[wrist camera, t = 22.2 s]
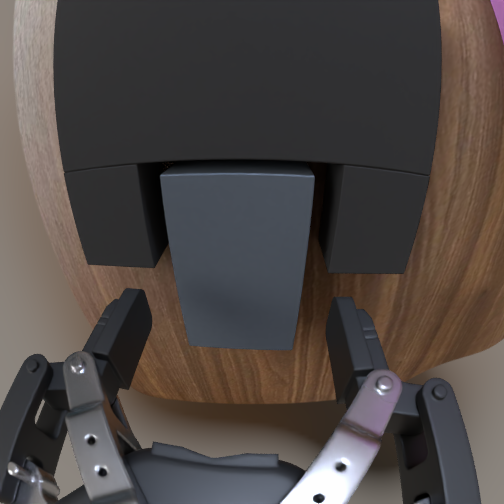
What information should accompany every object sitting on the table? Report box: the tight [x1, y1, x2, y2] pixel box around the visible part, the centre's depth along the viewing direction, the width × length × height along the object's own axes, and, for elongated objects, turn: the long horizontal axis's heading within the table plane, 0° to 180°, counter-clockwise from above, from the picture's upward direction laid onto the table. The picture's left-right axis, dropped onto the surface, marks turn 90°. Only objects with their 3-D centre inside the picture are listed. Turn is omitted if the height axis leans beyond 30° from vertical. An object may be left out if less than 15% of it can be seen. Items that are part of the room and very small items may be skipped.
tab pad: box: [160, 160, 315, 350], centre depth 14 cm, size 6×10×3 cm, turn 0°
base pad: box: [53, 0, 442, 274], centre depth 10 cm, size 16×14×3 cm
